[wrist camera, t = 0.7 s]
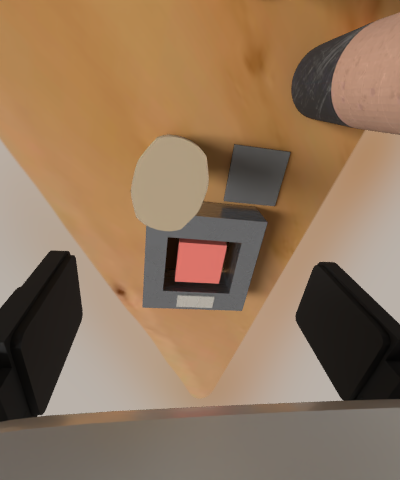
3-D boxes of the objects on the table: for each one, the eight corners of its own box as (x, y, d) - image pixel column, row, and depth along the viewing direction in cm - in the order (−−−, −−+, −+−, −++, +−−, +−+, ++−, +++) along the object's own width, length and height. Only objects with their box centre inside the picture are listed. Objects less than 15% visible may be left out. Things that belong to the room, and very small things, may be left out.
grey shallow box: (150, 196, 33) (147, 212, 28) (255, 206, 35) (268, 222, 30) (145, 284, 39) (142, 308, 35) (234, 288, 41) (242, 311, 37)
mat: (234, 144, 31) (235, 144, 30) (289, 151, 32) (290, 152, 31) (223, 200, 34) (224, 201, 34) (273, 205, 35) (274, 206, 35)
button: (179, 237, 32) (179, 242, 31) (225, 241, 33) (227, 245, 32) (174, 276, 35) (174, 281, 34) (217, 278, 36) (218, 283, 35)
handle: (198, 128, 29) (221, 152, 16) (181, 181, 32) (189, 238, 19) (157, 112, 28) (145, 125, 15) (143, 169, 31) (123, 220, 18)
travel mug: (299, 133, 31) (468, 180, 13) (279, 65, 27) (473, 6, 10) (361, 99, 30) (634, 101, 12) (348, 23, 26) (709, -127, 9)
